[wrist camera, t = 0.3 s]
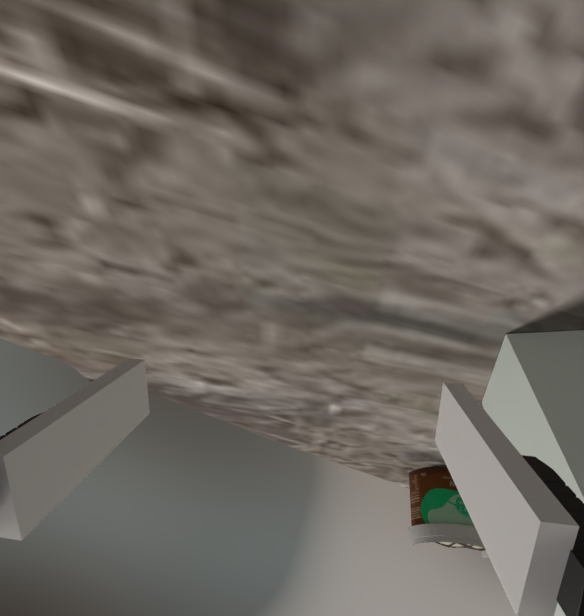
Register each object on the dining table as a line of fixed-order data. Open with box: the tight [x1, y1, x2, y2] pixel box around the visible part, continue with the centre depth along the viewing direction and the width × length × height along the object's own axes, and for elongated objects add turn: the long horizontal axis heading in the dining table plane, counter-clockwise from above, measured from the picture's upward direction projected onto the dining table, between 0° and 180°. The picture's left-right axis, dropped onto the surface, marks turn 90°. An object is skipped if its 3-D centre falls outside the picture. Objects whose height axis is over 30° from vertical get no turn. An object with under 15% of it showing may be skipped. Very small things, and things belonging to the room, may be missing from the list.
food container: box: [408, 467, 489, 558], centre depth 49 cm, size 12×6×10 cm, turn 76°
